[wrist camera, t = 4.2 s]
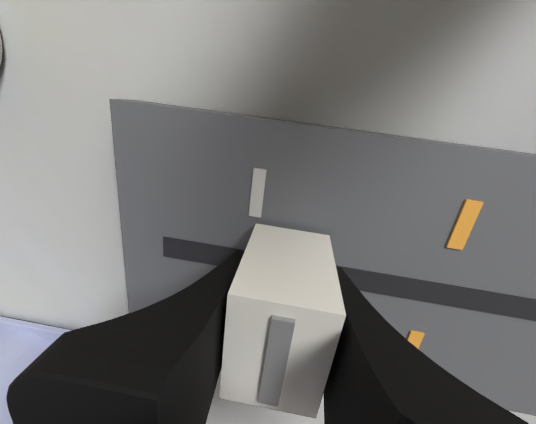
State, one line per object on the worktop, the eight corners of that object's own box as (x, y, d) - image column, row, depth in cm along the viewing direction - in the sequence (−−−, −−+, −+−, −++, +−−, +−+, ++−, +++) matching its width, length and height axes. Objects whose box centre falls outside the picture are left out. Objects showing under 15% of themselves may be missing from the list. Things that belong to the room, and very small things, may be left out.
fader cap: (311, 313, 12) (316, 423, 8) (246, 301, 13) (217, 403, 8) (329, 235, 11) (346, 319, 7) (255, 223, 11) (225, 297, 7)
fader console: (534, 390, 15) (560, 422, 13) (145, 316, 16) (129, 337, 15) (690, 175, 10) (756, 186, 9) (132, 99, 12) (107, 98, 10)
